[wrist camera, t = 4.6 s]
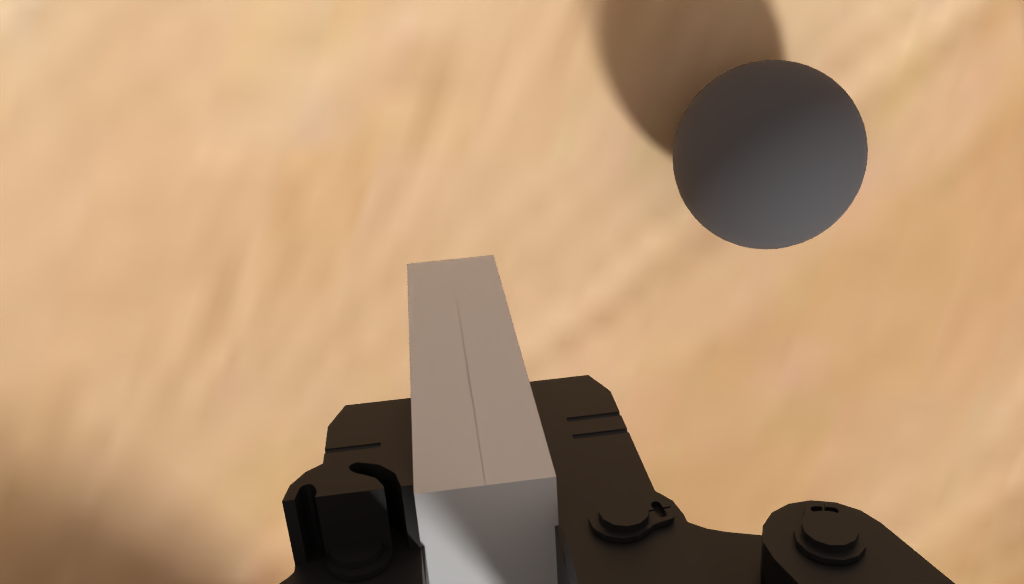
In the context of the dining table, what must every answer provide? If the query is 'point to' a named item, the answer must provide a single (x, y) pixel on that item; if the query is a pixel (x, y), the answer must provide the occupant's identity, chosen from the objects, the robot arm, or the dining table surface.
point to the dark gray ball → (770, 154)
